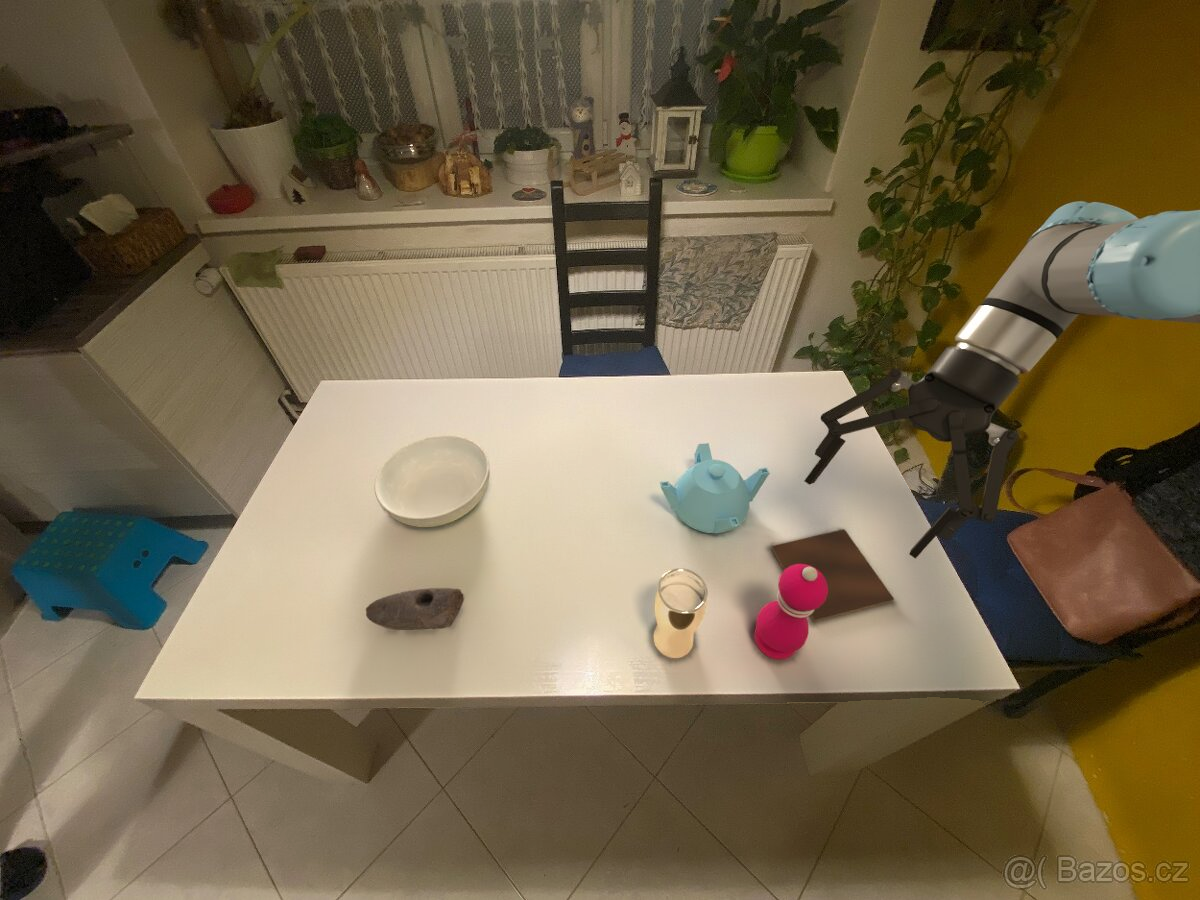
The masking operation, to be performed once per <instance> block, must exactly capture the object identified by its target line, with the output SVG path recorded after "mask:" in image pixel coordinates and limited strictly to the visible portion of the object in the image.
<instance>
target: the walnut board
mask: <svg viewBox="0 0 1200 900" xmlns="http://www.w3.org/2000/svg"><path fill="white" fill-rule="evenodd" d="M770 550H771V551H772V553H773V555H774V557H775V559H776V560H777V562H778V563H779V566H780V567H781V569H782V571H783V572H784V570H785V569H786V568H788V567H790V566H792V565H795V564H806V565H809V566H812V567H814V568H816V569H817V570H818V571H820V573H821V574H822V575H823V576H824V578H825V580H826V582H827V586H828V594H827V597H826V600H825V602H824V603H823V604H822V605H821V606H820V607H819V608H817V609H815V610H814V612H813V613H812V614H811V615H809V616H808V617H809V618H810V620H811V621H812V623H818V622H821V621H824V620H825V621H826V620H828V619H832V618H836V617H840V616H844V615H847V614H852V613H855V612H858V611H862V610H863V611H864V610H866V609H870V608H873V607H874V608H875V607H877V606H881V605H885V604H889V603H892V602H893V601H894V600H895V598H894V596H893V595H892V594H891V592H890V591H889V590H888V588H887V586H886V585H885V584H884V582H883V581H882V580H881V578H880V577H879V576H878V574H877V573H876V571H875V570H874V569H873V567H872V565H870V563H869V562H868V560H867V558H866V557H865V556H864V555H863V553H862V552H861V550H860V549H859V548H858V546H857V545H856V543H855V542H854V541H853V540H852V537H851V536H850V535H849V534H848V532H847V531H846V529H844V528H843V529H839V530H836V531H831V532H827V533H822V534H817V535H813V536H810V537H805V538H800V539H796V540H792V541H788V542H783V543H779V544H775V545H772V546H771V549H770Z"/></svg>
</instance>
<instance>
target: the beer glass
mask: <svg viewBox="0 0 1200 900" xmlns="http://www.w3.org/2000/svg"><path fill="white" fill-rule="evenodd" d="M708 594H709V592H708V587H707V584H706V582H705V580H704V578H702V576H701V575H699V574H698V573H697V572H695V571H694V570H692V569H691V570H690V569H688V568H680V567H679V568H673V569H670V570H668V571H667V572H664V574H663V575H662V576H661V577H660V580H659V581H658V585H657V588H656V592H655V597H654V607H653V608H654V616H655V621H656V624H657V625H656V626H655V628H654V631H653V643H654V646H655V648H656V649H657V650H658V651H659V653H660V654H662V655H663V656H665V657H667V658H670V659H679V658H682V657H685V656H687V655H688V654H690V651H692V648H693V646H694V639H695V638H694V633H695V632H696V631H697V630H698V628H699V627H700V626H701V623H702V622H703V619H704V617H705V614H706V608H707V603H708V602H707V600H708Z"/></svg>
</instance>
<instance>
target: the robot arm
mask: <svg viewBox="0 0 1200 900" xmlns="http://www.w3.org/2000/svg"><path fill="white" fill-rule="evenodd" d="M1079 315H1083V316H1085V315H1092V316H1103V317H1116V318H1126V319H1131V320H1139V319H1141V320H1142V319H1144V320H1148V321H1149V320H1150V321H1167V322H1177V323H1178V322H1179V323H1189V324H1190V323H1191V324H1200V209H1196V210H1188V211H1187V210H1180V209H1176V210H1170V211H1163V212H1160V213H1157V214H1155V215H1154V214H1153V215H1152V214H1151V215H1147V216H1144V217H1142V218H1139V217H1137V216H1136V215H1134V214H1133V213H1131V212H1130V211H1127V210H1125V209H1123V208H1120V207H1118V206H1115V205H1112V204H1108V203H1105V202H1099V201H1092V202H1086V201H1084V200H1080V201H1072V202H1069V203H1066V204H1064V205H1062V206H1060V207H1058V208H1057V209H1056V210H1054V212H1052V213H1051V215H1049V217H1048V218H1047V219H1046V220H1045V222H1044V223H1042V225H1041V226H1040V227H1039V229H1037V230H1036V231H1035V232H1034V233H1032V235H1031V236H1030V237H1029V239H1028V240H1027V242H1026V244H1025V246H1024V247H1023V249H1022V250H1021V251H1020V252H1019V254H1018V255H1017V256H1016V257H1015V259H1014V260H1013V261H1012V263H1011V264H1010V266H1009V267H1008V268H1007V269H1006V271H1005V272H1004V273H1003V275H1002V276H1001V277H1000V279H999V280H998V281H997V283H996V284H995V285H994V287H993V288H992V289H991V290H990V292H989V293H988V294H987V296H986V297H985V298H984V300H983V301H982V302H981V303H980V304H979V305H978V306H977V308H976V309H975V311H974V312H973V313H972V314H971V316H970V317H969V318H968V319H967V320H966V322H965V324H964V325H963V326H962V327H961V329H960V330H959V331H958V332H957V334H956V335H955V336H954V342H955V343H956V345H950V346H947V347H946V348H945V349H944V350H943V352H942V353H941V354H940V355H939V357H938V358H937V359H936V360H935V362H934V364H933V365H932V366H931V367H930V368H929V370H928V371H927V372H926V373H925V374H924V376H923V377H922V378H921V379H920V380H917V381H914V380H912V379H910V377H908V376H906V375H905V374H904V373H903V372H902V371H901V370H900V369H899V368H893V369H891V370H890V371H889V372H888V373H887V374H886V375H885V376H884V377H883V378H882V380H880V381H879V382H878V383H876V384H874V385H873V386H870V387H869V388H866V389H865V390H864V391H861V392H860V393H858V394H855V395H854V396H853V397H851V398H849V399H847V400H845V401H843V402H842V403H839V404H838V405H836V406H834V407H833V408H831V409H829V410H826V411H825V412H823V413H822V414H821V415H820V420H821V422H822V423H823V424H824V425H825V426H826V428H827V430H828V431H827V434H826V435H825V437H824V438H823V439H822V441H820V443H819V445H818V446H817V448H816V449H815V451H814V455H815V456H817V457H818V458H819V459H818V462H817V463H816V464H815V465H814V467H813V468H812V469H811V471H810V472H809V474H807V476H806V478H805V479H804V480H803V482H804V483H806V484H807V485H808V486H809V485H813V484H815V483H816V481H817V480H818V479H819V477H820V476H821V475H822V474H823V472H824V471H825V469H826V468H827V467H828V466H829V464H830V463H831V462H832V460H833V459H834V458H835V456H836V455H837V453H838V452H839V451H840V450H841V448H842V447H843V445H844V444H845V443H846V442H847V441H846V440H845V439H843V438H842V436H843V435H848V434H851V433H854V432H859V431H863V430H867V429H871V428H874V427H879V426H882V425H887V424H890V423H894V422H898V421H903V420H907V419H908V422H909V423H910V424H911V426H912V427H914V428H915V429H917V430H920V431H924V432H926V433H927V434H929V436H930V437H932V438H933V439H935V440H936V441H938V442H942V443H951V444H950V445H951V452H952V459H953V461H952V462H953V470H954V477H955V486H956V487H955V489H956V495H957V504H958V508H957V509H955V508H954V507H952V506H951V505H949V506H948V507H947V508H946V510H944V512H943V513H942V514H941V515H940V516H939V517H938V518H937V520H935V522H934V523H933V524H932V525H931V527H930V528H929V529H928V530H927V531H925V533H924V534H923V536H922V537H921V538H919V540H918V541H917V542H916V543H915V545H914V546H912V548H911V549H910V551H909V553H908V555H909V556H911V557H912V558H914V559H917V558H918V556H919V555H921V553H922V552H923V551H924V550H925V549H926V548H927V547H928V546H929V544H930V543H931V542H932V541H933V540H934V539H935V538H936V537H937V536H938V537H939V538H941V539H943V541H947V540H949V539H951V538H952V537H953V536H954V535H955V533H956V532H957V531H959V529H960V528H961V527H962V526H963V525H964V524H965V523H966V521H968V520H976V521H980V522H983V523H986V524H991V523H994V522H995V520H996V517H997V512H998V507H999V502H1000V496H1001V491H1002V485H1003V481H1004V475H1005V470H1006V466H1007V460H1008V454H1009V452H1010V451H1011V449H1012V448H1013V446H1014V445H1015V443H1016V442H1017V441H1018V439H1019V438H1020V434H1019V432H1018V431H1017V430H1014V429H1007V428H1005V427H1003V426H1000V425H998V424H996V423H992V417H993V416H994V414H995V413H996V412H997V410H998V409H999V408H1000V407H1001V406H1002V405H1003V403H1004V402H1005V401H1006V400H1007V399H1008V397H1009V396H1010V395H1011V394H1012V393H1013V392H1014V391H1015V390H1016V388H1017V387H1018V386H1019V384H1020V383H1021V382H1020V377H1019V374H1021V375H1026V374H1029V373H1030V372H1031V371H1032V370H1033V368H1034V367H1035V366H1036V364H1037V363H1039V361H1040V360H1041V359H1042V357H1044V356H1045V354H1047V352H1048V351H1049V350H1050V349H1051V347H1053V345H1054V344H1055V343H1056V342H1057V340H1058V339H1059V338H1060V337H1061V336H1062V334H1063V333H1064V332H1065V331H1066V329H1068V327H1069V326H1070V325H1071V324H1072V323H1073V322H1074V321H1075V319H1077V317H1078V316H1079ZM901 390H907V405H905V406H901V407H897V408H893V409H891V410H887V411H883V412H881V413H880V412H879V413H875V414H872V415H869V416H865V417H861V418H858V419H854V420H850V421H846V422H842V423H840V421H839V420H840V419H842V418H843V417H845V416H848V415H849V414H851V413H853V412H855V411H857V410H858V409H860V408H862V407H864V406H866V405H868V404H870V403H871V402H873V401H875V400H877V399H879V398H881V397H883V396H885V395H886V394H888V393H890V392H893V393H897V392H899V391H901ZM984 432H986V433H987V434H988V444H989V446H992V447H993V448H992V450H991V454H990V458H989V464H988V469H987V474H986V480H985V485H984V490H983V496H982V502H981V506H976V505H973V498H972V489H971V481H970V471H969V463H968V454H967V453H968V452H967V445H966V438H967V437H971V436H975V435H978V434H981V433H984Z"/></svg>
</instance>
